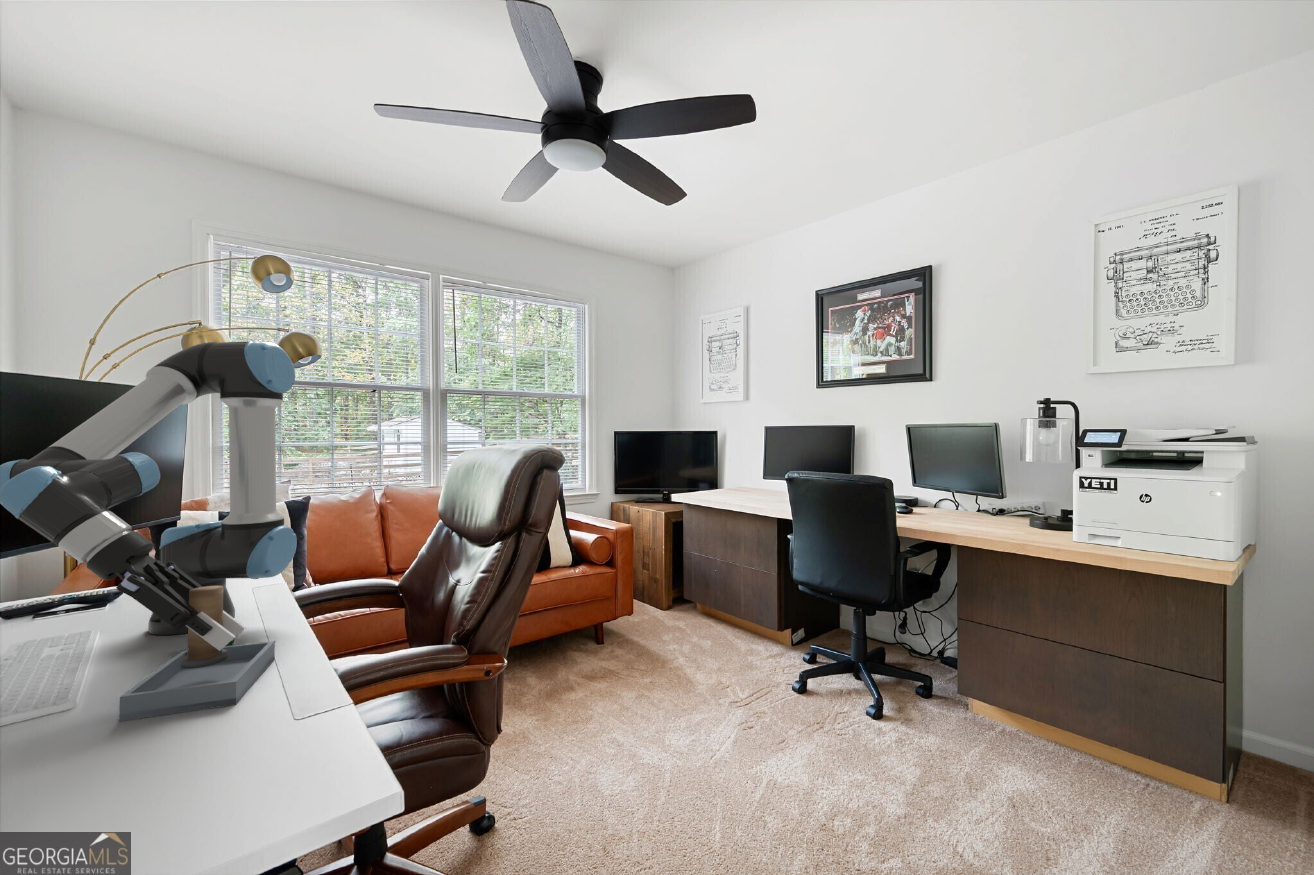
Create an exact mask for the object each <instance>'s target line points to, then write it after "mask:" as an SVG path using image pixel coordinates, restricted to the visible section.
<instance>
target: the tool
mask: <svg viewBox="0 0 1314 875" xmlns="http://www.w3.org/2000/svg"><path fill="white" fill-rule="evenodd" d="M189 604H190V605H191V606H192V607H193V608H194V609H195V610H196V611H197V612H198V614H199V613H200V612H204V613H205V614H207V615H208V616H209V617H211V618H212V619H213V620H215V621H216V622H217V623H219V624H220V625H221V626H223V586H206V587H199V588H195V589H191V590H189ZM198 614H197V615H198ZM187 651H188V656H185V657H183V658H182V659H181V667H182V668H188V669H190V668H201V667H206V666H211V665H214V664H218V663H220V662H223V661H225V660H226V659H227V658H228V650H225V649H221V650H220V651H219V650H218V649H216V648H215V647H214V646H212V645H211V644H209V643H208V642H207V641H205V640H204V639H203V638H201V637H200V636H199V635H197V634H196V633H194V632H193V631H192V630H190V629H189V628H188V635H187Z"/></svg>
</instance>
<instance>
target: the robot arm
mask: <svg viewBox="0 0 1314 875" xmlns="http://www.w3.org/2000/svg"><path fill="white" fill-rule="evenodd" d="M295 381H296V372H295V366H294V364H293V361H292V359H291V357H290V356H289V355H288V354H287V352H286V351H285V349H283V348H282V347H281V346H279V345H278V344H276V343H273V342H267V341H257V340H256V341H255V340H254V341H253V340H250V341H226V342H225V341H222V342H218V341H211V342H210V341H209V342H208V341H207V342H202V343H198V344H194V345H192V346H188V347H187V348H184V349H182V350H180V351H178V352H176V353H174V354H172V355H171V356H168V357H167V358H165V359H164V360H161V361H160V362H158V363H157V364H156V365H154V366H153V367H151V368H150V369H149V370H147V372H146V375H145V379H144V380H143V381H141V382H140V383H138V384H137V385H135V386H134V387H132V388H130V389H129V390H128V391H127V392H125V393H124V394H122V395H121V396H119V397H118V398H117V399H115V400H114V401H112V402H111V403H110V404H108V405H107V406H105V407H104V408H103V409H101V410H99V411H98V412H97V413H95V414H94V415H92V416H91V417H90V418H88V419H86V421H84V422H82V423H81V424H79V425H78V426H77V427H74V429H72V430H71V431H70V432H68V433H67V434H65V435H64V436H62V437H61V438H59V439H58V440H57V441H55V442H54V443H52V444H51V445H49V446H48V447H47V448H45V449H43V450H42V451H41V452H39V453H38V454H36V455H34V456H33V457H31V458H30V459H29V458H28V459H27V458H22V459H17V460H12V461H7V462H5V463H2V464H0V505H1V506H3V508H4V509H6V510H7V511H8V512H9V513H11V514H12V515H13V516H14V518H16V519H17V520H19V521H21V522H23V523H24V524H25V525H27V526H28V527H29V528H31V529H33V530H34V531H36V532H37V533H38V534H40V535H41V536H43V537H44V538H46V539H47V540H48V541H50V542H51V543H53V544H54V545H56V547H59V548H60V549H62V550H63V551H64V552H65V556H66V557H68V558H73V559H75V560H77V561H78V562H79V563H81V564H82V563H86V569H88V570H90V571H91V572H92V573H93V574H95V575H96V576H97V577H99V578H100V579H102V580H104V581H111V580H113V579H115V578H118V577H119V579H120V580H121V581H122V582H120V583H119V584H118V585H117V586H116V587H115V588H116V589H117V590H118V591H119V592H120V593H123V594H125V595H127V596H129V597H130V598H132V599H134V600H135V601H136V602H138V603H139V604H140V605H142V606H144V607H145V608H146V609H148V610H149V611H150V612H151V615H150V618H149V620H148V625H147V626H148V628H147V629H148V631H147V632H148V633H149V634H150V635H158V636H167V635H168V636H171V635H181V634H187V633H188V628H189V629H190V630H192V631H193V632H194V633H196V634H197V635H199V636H200V637H201V638H203V639H204V640H205V641H207V642H208V643H209V644H211V645H212V646H214V647H215V648H216V649H218V650H219V651H220V650H221V649H222V648H224V647H225V646H226V645H227V644H228V643H229V642H230V641H232V640H233V639H234V638H235V639H236V638H237V637H238V636H239V635H240V634H241V633H242V632H243V631H244V630H245V629H247V627H246V626H245V625H243V624H242V623H241V622H239V620H237V619H236V608H235V606H234V604H233V601H232V598H231V596H230V594H229V590H228V588H227V579H251V580H258V579H265V578H267V579H268V578H273V577H276V576H278V575H280V574H281V573H283V572H284V571H285V570H286V569H287V568H288V567H289V565H290V563H291V562H292V561H293V558H294V556H295V554H296V550H297V540H298V538H297V534H296V533H295V532H294V530H293V528H291V527H289V526H288V525H285V516H284V515H282V514H281V513H280V512H279V511H278V510H277V469H276V468H277V461H276V460H277V458H276V457H277V456H276V452H277V448H276V446H277V445H276V444H277V443H276V408H277V407H279V405H281V404H282V403H283V401H284V394H285V393H288V392H289V391H290V390H291V389H292V388H293V385H295ZM211 394H219V399H220V400H219V401H221V402H222V403H223V404H224V405H226V406H227V407H228V443H229V446H228V447H229V448H228V450H229V451H228V452H229V453H228V455H229V456H228V457H229V458H228V460H229V466H228V468H229V514H228V515H227V516H226V517H225V518H224V519H223V520H216V521H210V522H204V523H203V522H202V523H201V522H200V523H195V524H188V525H183V526H182V525H181V526H175V527H169V528H166V529H165V530H164V531H163V532H162V533H161V537H160V545H159V548H158V550H159V560H158V559H156V558H153V557H152V556H151V555H150V552H152V551H153V549H154V543H153V542H152V541H151V540H149V539H147V537H145V536H144V535H143V534H142V533H140V532H139V531H132V530H133V528H132V526H131V525H130V524H128V523H127V522H126V521H125V520H123V519H122V518H121V517H119V516H118V515H116V514H115V513H114V512H113V511H111V510H110V509H111V508H113V507H114V506H118V505H120V504H122V503H124V502H126V501H129V500H131V499H133V498H137V497H140V496H142V495H143V494H144V493H146V492H149V491H151V490H152V489H154V488H155V487H156V486H157V485H158V484H159V483H160V481H161V472H160V469H159V466H158V464H157V463H156V461H155V460H154V459H153V458H152V457H150V456H149V455H147V454H145V453H142V452H137V451H130V452H126V453H123V454H120V453H121V452H122V451H123V450H125V449H126V448H128V447H129V446H130V445H131V444H132V443H133V442H135V441H136V440H137V439H138V438H140V437H141V436H142V435H143V434H145V433H146V432H148V431H149V430H150V429H151V428H152V427H154V426H155V425H156V424H158V423H159V422H160V421H161V420H163V419H164V418H165V417H166V416H168V415H169V414H170V413H172V412H173V411H174V410H175V409H177V408H179V406H181V405H189V404H191V403H193V402H194V401H195V400H196V399H197V398H199V397H202V396H206V395H211ZM206 586H223V626H221V625H220V624H219V623H217V622H216V621H215V620H213V619H212V618H211V617H209V616H208V615H207V614H205V613H204V612H200V613H199V614H198V612H197V611H196V610H195V609H194V608H193V607H192V606H191V605H190V604H189V590H191V589H195V588H199V587H206ZM197 614H198V615H197ZM234 618H235V619H234Z"/></svg>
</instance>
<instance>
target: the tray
mask: <svg viewBox="0 0 1314 875" xmlns="http://www.w3.org/2000/svg"><path fill="white" fill-rule="evenodd" d="M275 643H276V641H275V640H271V641H261V642H253V643H243V644H237V645H236V644H233V646H225V647H224V648H222V649H225V650H228V658H227V659H226V660H225V661H223V662H220V663H218V664H214V665H211V666H206V667H201V668H190V669H188V668H182V667H181V659H182V658H183V657H185V656H188V650H181V651H180V652H179V653H177V654H176V655H175V656H174V657H172V658H171V659H170V660H168V661H167V662H166V663H164V664H162V665H161V666H160V667H158V668H157V669H155V670H154V671H153V672H152V673H150V674H149V675H148V676H146V677H145V678H144V679H142V680H141V681H139V682H138V683H137V684H135V685H133V687H131V688H130V689H128V690H127V691H126V692H124V693H123V694H121V695H120V696H119V713H118V716H119V717H118V721H119V722H124V721H125V722H126V721H131V720H137V719H139V720H140V719H145V718H151V717H159V716H165V715H166V716H167V715H173V714H181V713H187V712H188V713H189V712H193V711H200V710H209V709H213V708H222V707H229V706H236V705H237V704H238V703H239V702H240V701H241V700H242V698H243V697H244V696H245V695H246V694H247V692H249V690H250V689H251V688H252V686H253V685H254V684H255V683H256V682H257V681H258V679H259V678H261V676H262V675H263V673H265V672H266V671H267V669H268V668H269V667H270V665H271V664H272V663H273V662H274V661H275V660H274V659H275V656H276V655H275V653H276V652H275V650H276V648H275V645H276V644H275ZM268 666H269V667H268Z"/></svg>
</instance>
